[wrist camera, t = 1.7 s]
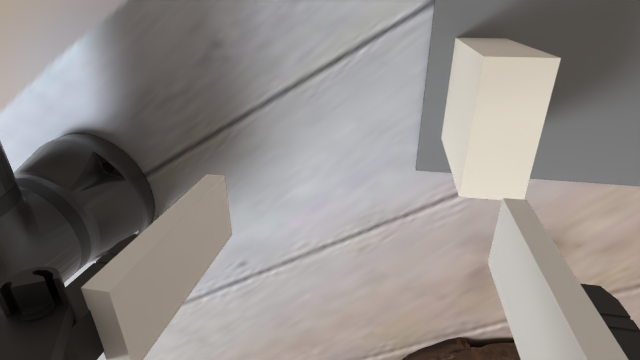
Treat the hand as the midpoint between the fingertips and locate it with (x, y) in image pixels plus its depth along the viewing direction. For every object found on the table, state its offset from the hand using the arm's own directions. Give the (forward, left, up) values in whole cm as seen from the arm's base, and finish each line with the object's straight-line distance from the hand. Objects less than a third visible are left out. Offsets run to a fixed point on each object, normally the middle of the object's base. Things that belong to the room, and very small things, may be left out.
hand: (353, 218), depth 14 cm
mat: (+15, 0, -24) cm, 28 cm away
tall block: (+8, 0, -23) cm, 25 cm away
